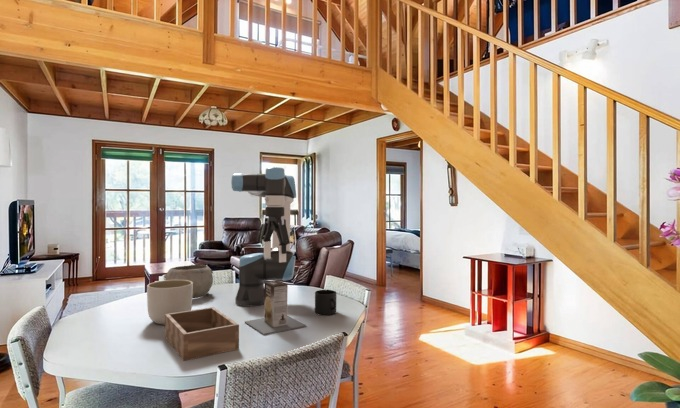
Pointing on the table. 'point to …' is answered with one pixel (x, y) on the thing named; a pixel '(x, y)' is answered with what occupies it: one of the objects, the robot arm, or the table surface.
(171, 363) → the table surface
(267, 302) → the coffee box
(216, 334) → the crate
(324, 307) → the mug
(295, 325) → the mat
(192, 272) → the bowl
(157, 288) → the planter
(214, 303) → the table surface
